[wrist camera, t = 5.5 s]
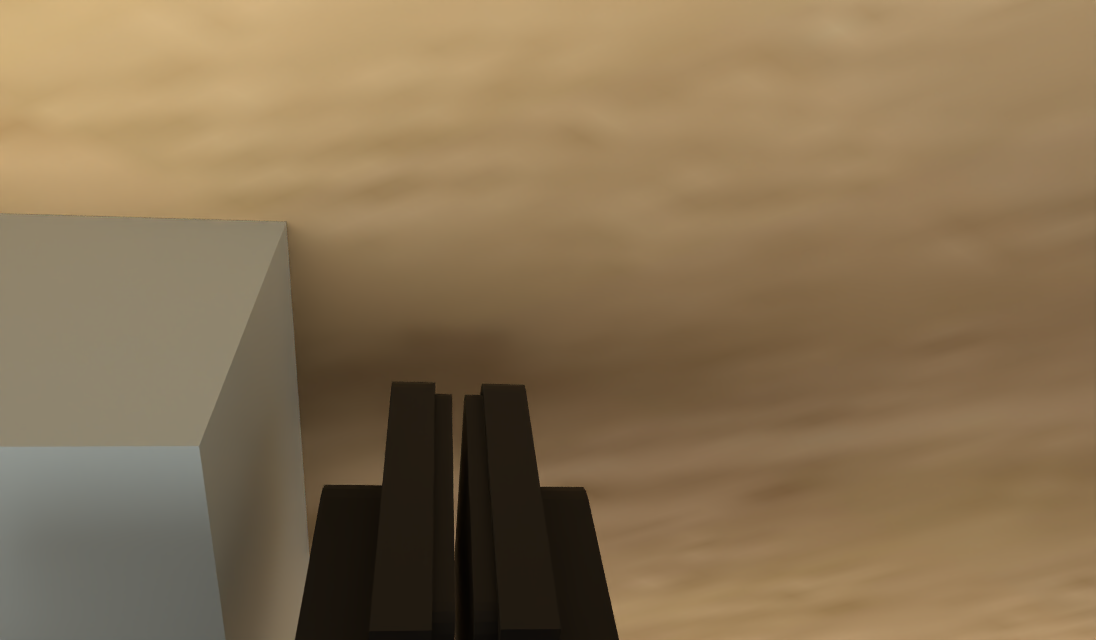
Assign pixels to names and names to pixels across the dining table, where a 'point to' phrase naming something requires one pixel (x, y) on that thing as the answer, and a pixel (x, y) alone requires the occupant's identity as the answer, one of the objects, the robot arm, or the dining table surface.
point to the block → (149, 430)
